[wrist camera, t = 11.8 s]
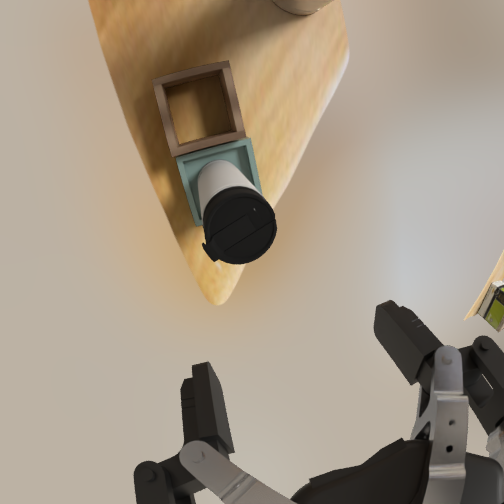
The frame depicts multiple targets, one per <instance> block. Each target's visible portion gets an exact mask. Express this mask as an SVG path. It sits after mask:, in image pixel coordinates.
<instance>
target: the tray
mask: <svg viewBox="0 0 504 504" xmlns="http://www.w3.org/2000/svg"><path fill="white" fill-rule="evenodd" d="M218 159H221V160H226V161H229V162H231V163H232V164H233V165H235V166H236V168H237V169H238V170H239V171H240V172H241V173H242V174H243V175H244V176H245V177H246V178H247V179H248V180H249V181H250V182H251V183H252V185H253V186H254V187H255V188H256V189H257V190H258V191H259V192H260V193H261V194H262V190H261V185H260V180H259V175H258V171H257V166H256V161H255V156H254V152H253V147H252V142H251V138H248V137H246V138H242V139H237V140H233V141H229V142H225V143H221V144H217V145H213V146H209V147H206V148H202V149H198V150H195V151H191V152H188V153H184V154H181V155H178V156H176V161H177V165H178V168H179V172H180V175H181V179H182V182H183V186H184V189H185V192H186V196H187V199H188V202H189V206H190V209H191V212H192V215H193V219H194V222H195V225H196V226H200V225H203V224H202V216H201V208H200V200H199V191H198V181H197V180H198V175H199V172H200V170H201V169H202V167H203V166H204V165H205V164H207V163H208V162H210V161H213V160H218Z"/></svg>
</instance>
